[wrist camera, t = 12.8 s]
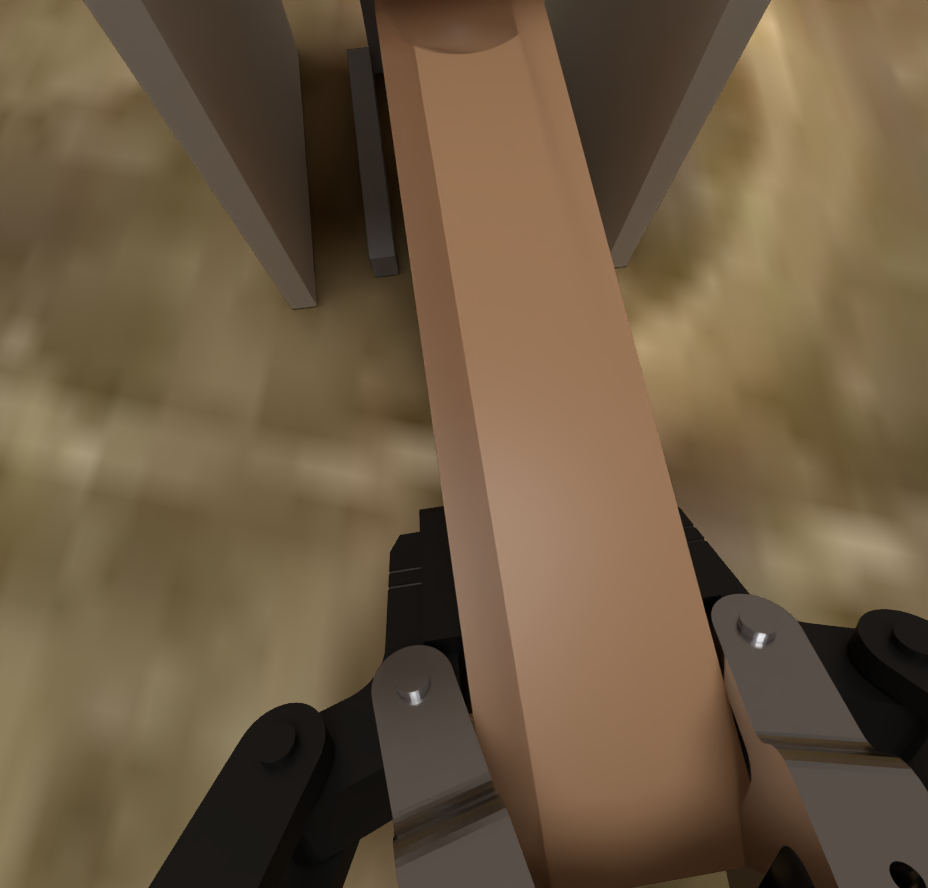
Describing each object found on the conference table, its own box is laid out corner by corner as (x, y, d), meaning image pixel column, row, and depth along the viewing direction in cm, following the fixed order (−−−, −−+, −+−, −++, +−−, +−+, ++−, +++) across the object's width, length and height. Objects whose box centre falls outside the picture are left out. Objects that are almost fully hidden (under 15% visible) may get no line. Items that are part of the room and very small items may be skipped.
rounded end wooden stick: (408, 207, 18) (365, -58, 10) (499, 196, 18) (523, -75, 11) (480, 714, 14) (499, 910, 6) (600, 694, 14) (771, 862, 6)
